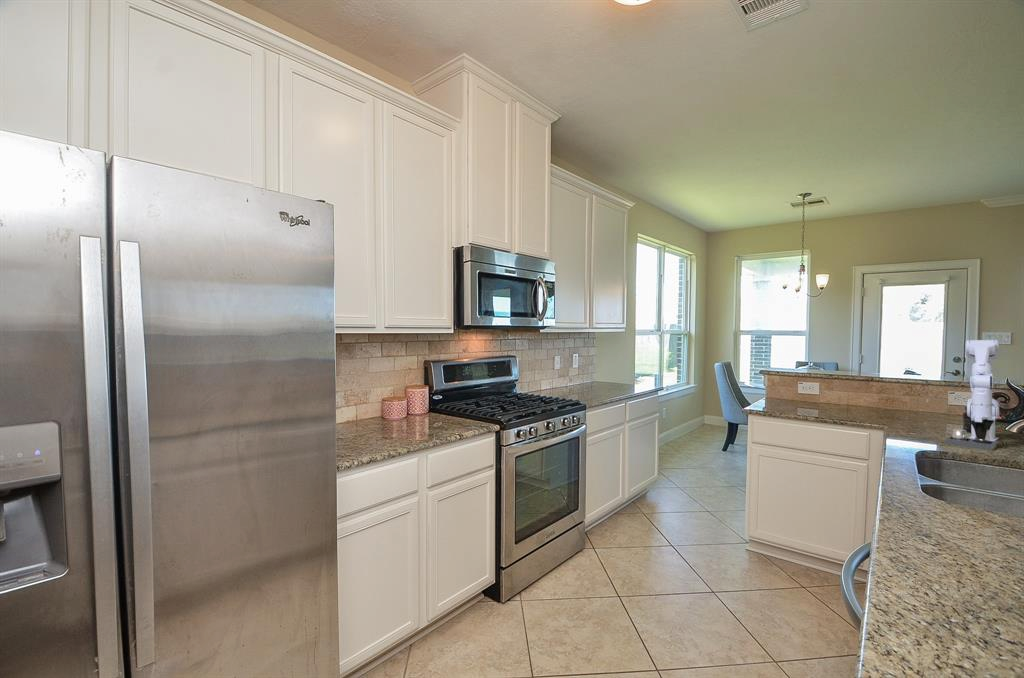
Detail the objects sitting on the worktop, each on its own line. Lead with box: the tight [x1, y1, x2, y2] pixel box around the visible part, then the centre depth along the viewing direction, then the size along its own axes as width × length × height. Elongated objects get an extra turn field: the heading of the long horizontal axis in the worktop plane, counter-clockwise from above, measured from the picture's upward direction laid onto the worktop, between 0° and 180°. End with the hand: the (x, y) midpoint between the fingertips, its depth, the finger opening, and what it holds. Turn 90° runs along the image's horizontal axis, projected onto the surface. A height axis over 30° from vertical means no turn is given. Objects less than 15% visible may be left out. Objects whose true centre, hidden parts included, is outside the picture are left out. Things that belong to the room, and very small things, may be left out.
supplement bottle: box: [962, 406, 971, 434], centre depth 212 cm, size 7×7×12 cm
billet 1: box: [952, 428, 967, 441], centre depth 185 cm, size 4×4×6 cm
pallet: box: [945, 435, 997, 451], centre depth 183 cm, size 9×13×2 cm
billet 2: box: [975, 430, 990, 444], centre depth 180 cm, size 4×4×6 cm
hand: (982, 438), depth 180 cm, fingers open, 4 cm apart
